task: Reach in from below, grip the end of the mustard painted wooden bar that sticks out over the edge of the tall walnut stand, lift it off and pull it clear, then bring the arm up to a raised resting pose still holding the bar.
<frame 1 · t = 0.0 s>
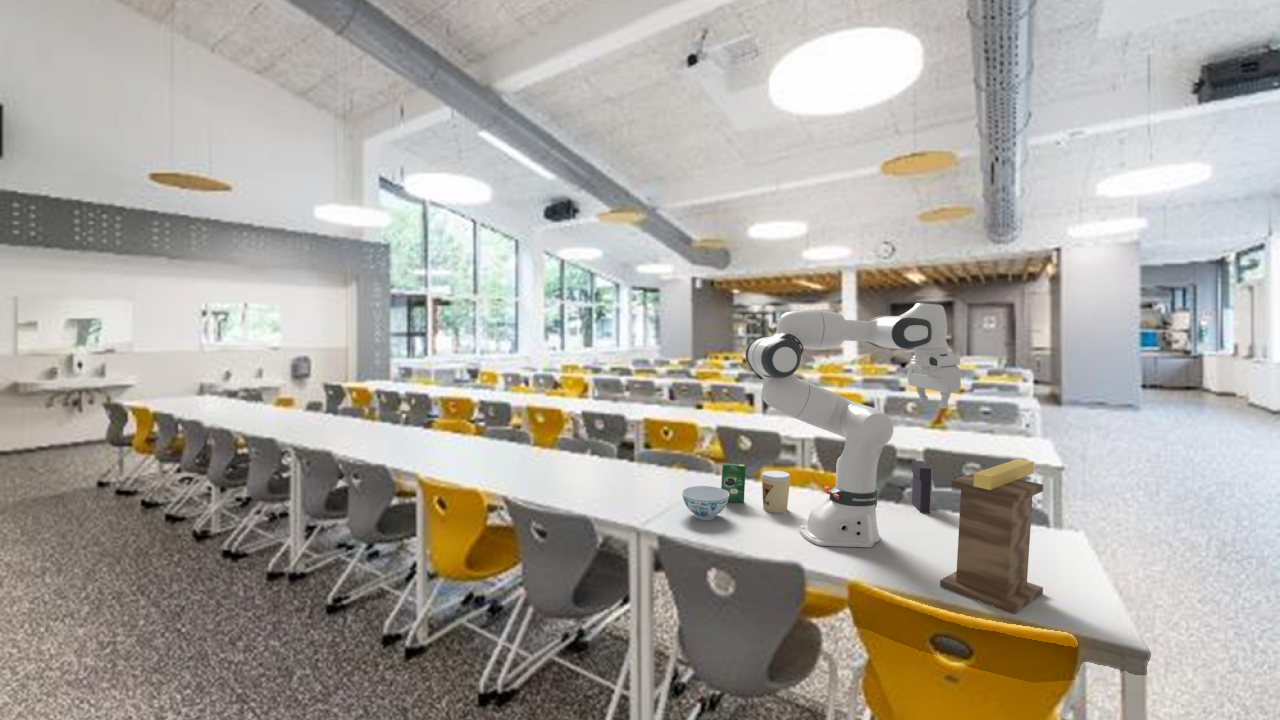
hand: (933, 404, 172), 39 cm above the table, tool pointing down, fingers open, 8 cm apart
walnut stand: (990, 590, 138), on the table
dark grey upright block: (920, 508, 198), on the table
chinaware: (705, 516, 187), on the table
coffee box: (732, 501, 203), on the table
coffee cup: (775, 509, 195), on the table
mustard bar: (1004, 479, 139), point 26 cm above the table, touching walnut stand
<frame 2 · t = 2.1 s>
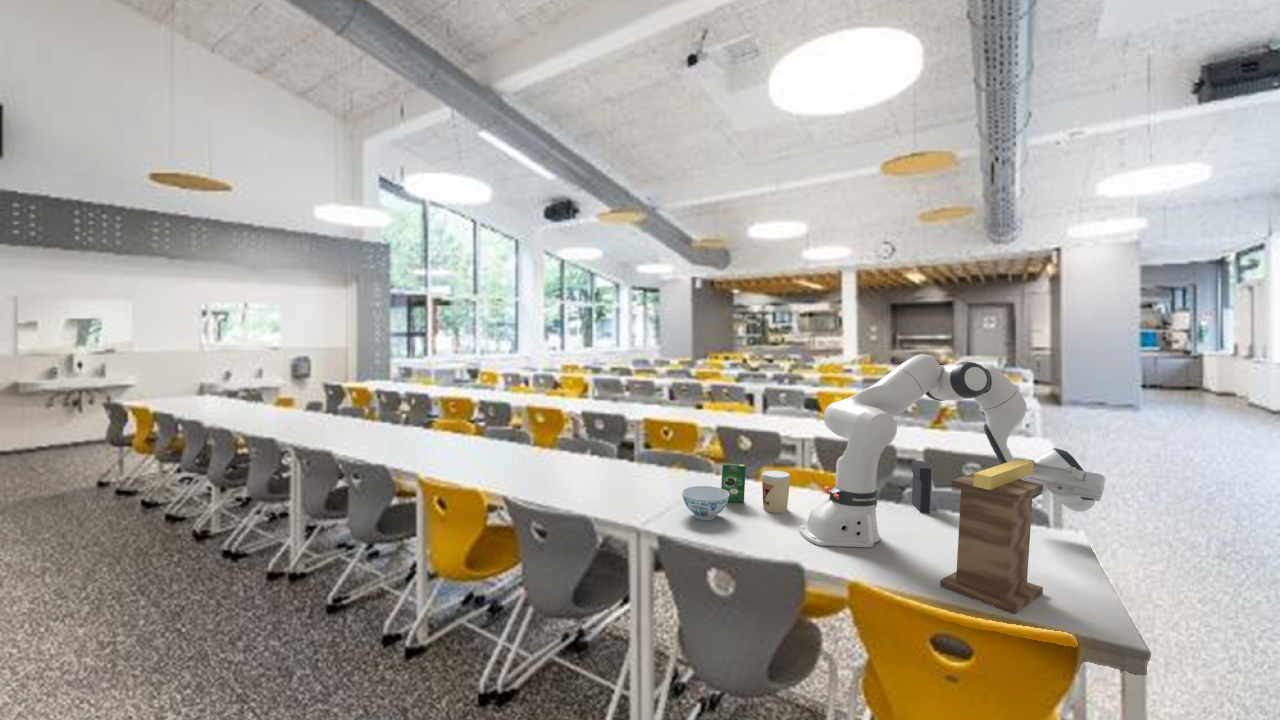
hand: (1049, 465, 156), 25 cm above the table, tool pointing upward, fingers open, 8 cm apart
nothing on the table moved.
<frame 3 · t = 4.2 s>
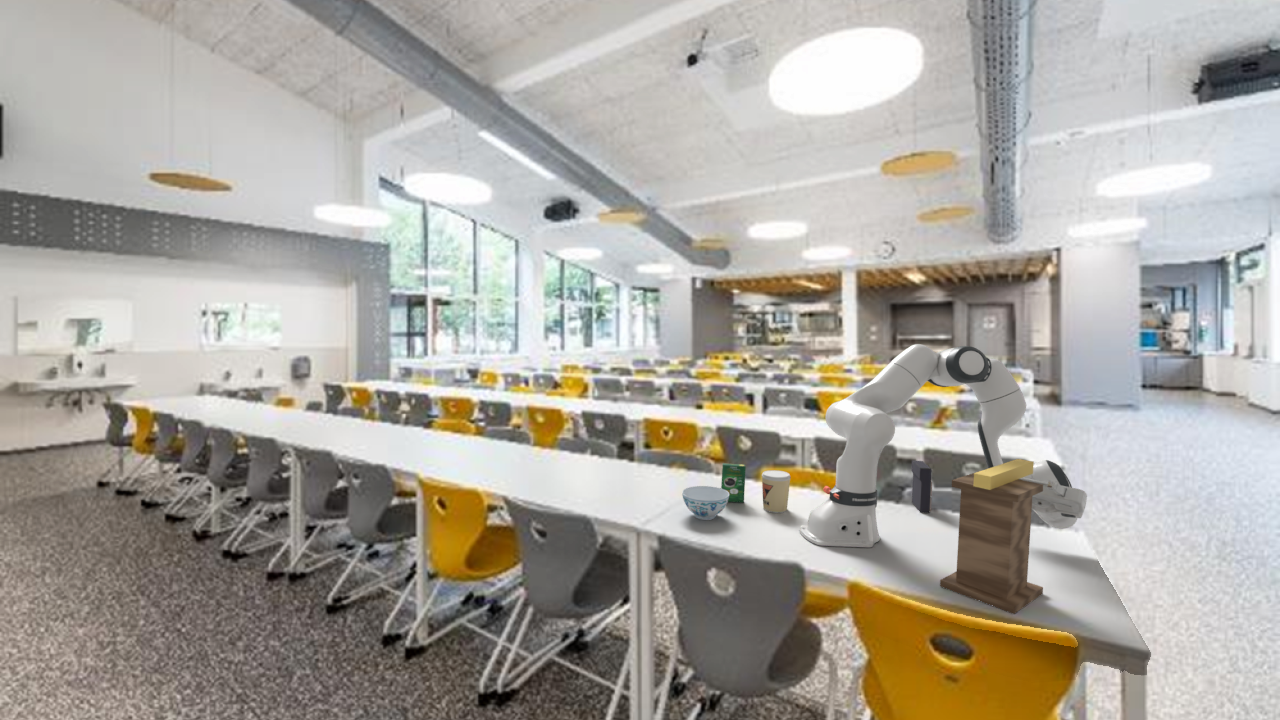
hand: (1029, 479, 148), 23 cm above the table, tool pointing upward, fingers open, 8 cm apart
nothing on the table moved.
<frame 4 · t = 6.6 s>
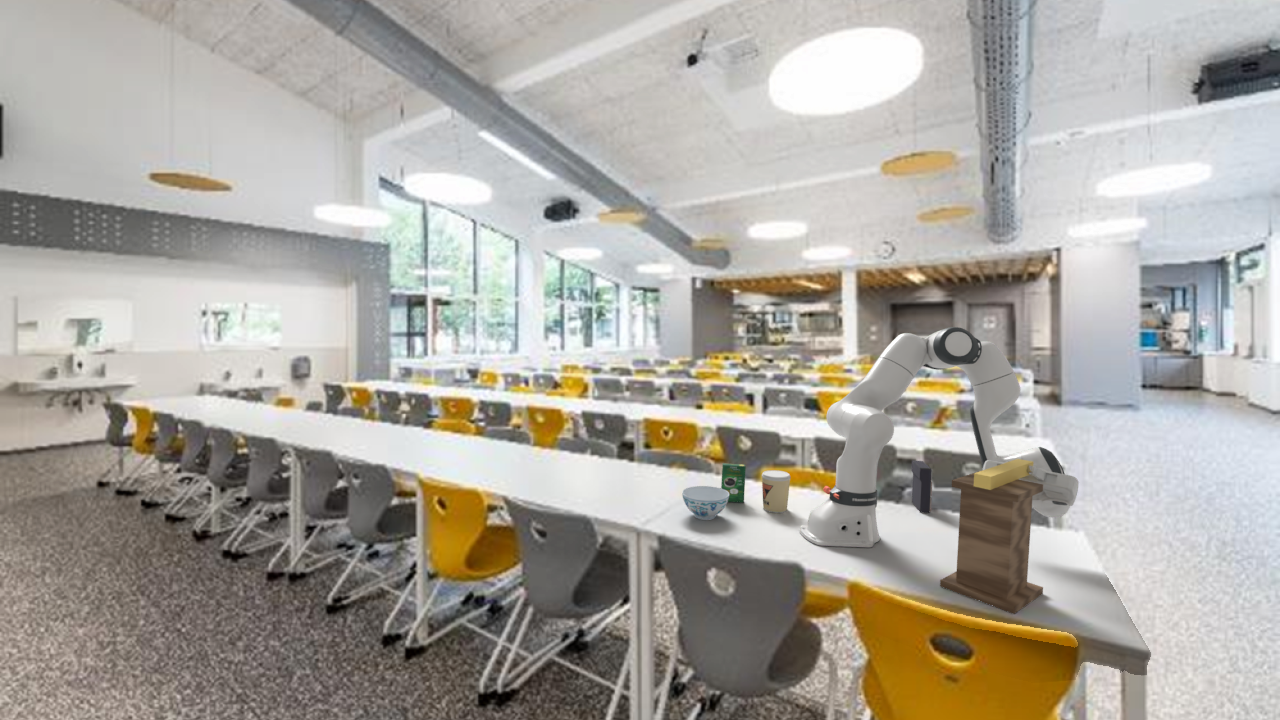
hand: (1019, 466, 143), 28 cm above the table, tool pointing upward, fingers closed on mustard bar, 3 cm apart
mustard bar: (1004, 479, 139), point 26 cm above the table, touching gripper, walnut stand
everything else where it was.
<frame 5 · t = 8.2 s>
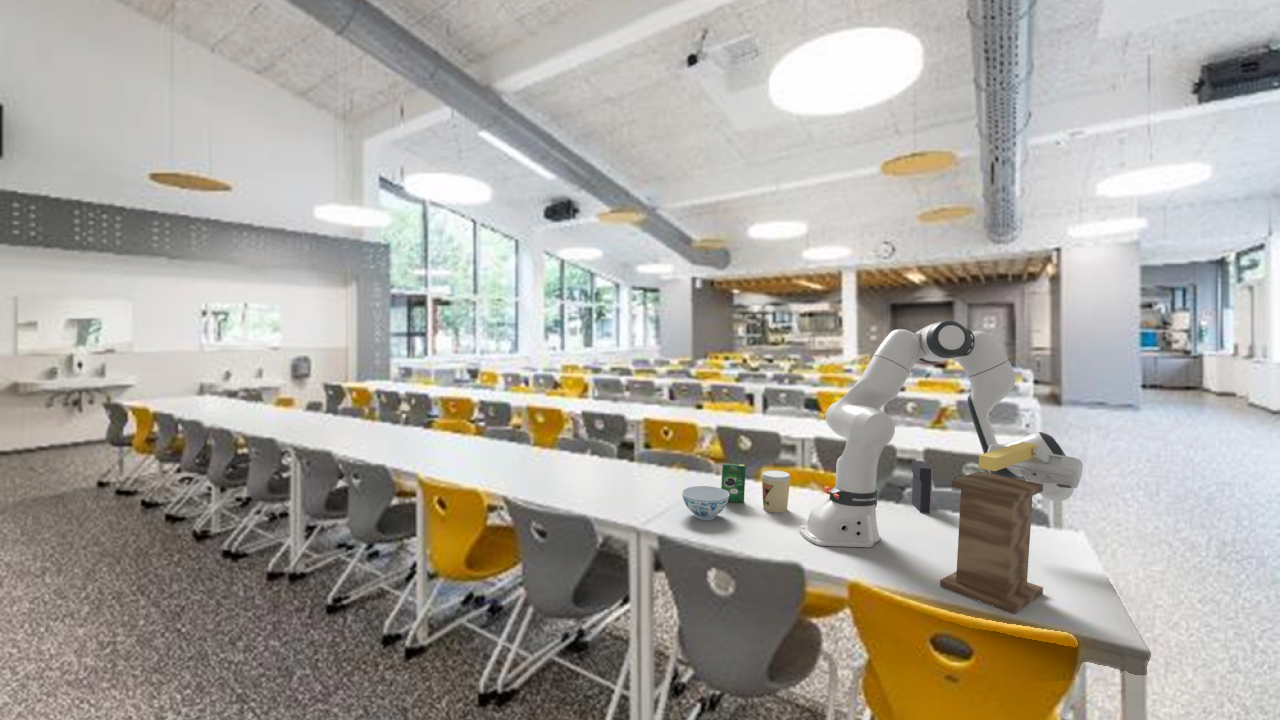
hand: (1023, 449, 144), 32 cm above the table, tool pointing upward, fingers closed on mustard bar, 3 cm apart
mustard bar: (1008, 461, 139), point 30 cm above the table, touching gripper
everything else where it was.
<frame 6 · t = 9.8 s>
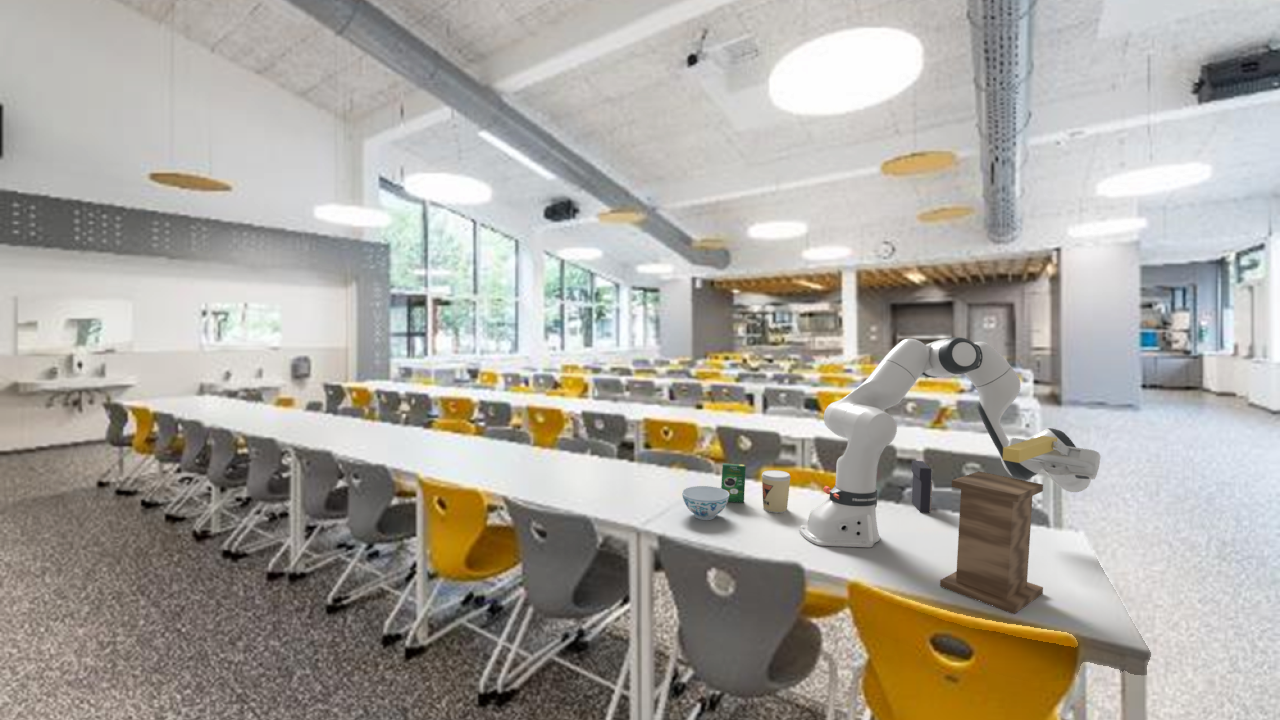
hand: (1043, 442, 152), 32 cm above the table, tool pointing upward, fingers closed on mustard bar, 3 cm apart
mustard bar: (1030, 454, 147), point 30 cm above the table, touching gripper
everything else where it was.
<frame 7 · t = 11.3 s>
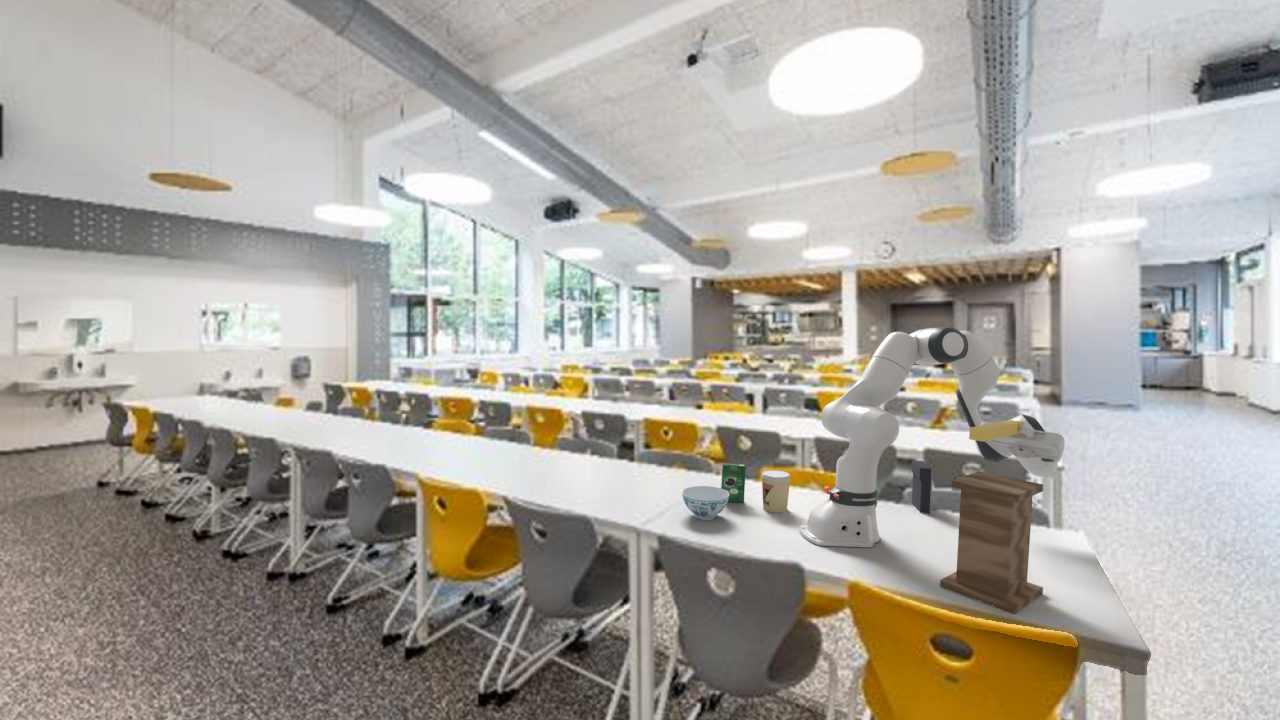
hand: (1011, 425, 159), 35 cm above the table, tool pointing upward, fingers closed on mustard bar, 3 cm apart
mustard bar: (997, 435, 155), point 33 cm above the table, touching gripper
everything else where it was.
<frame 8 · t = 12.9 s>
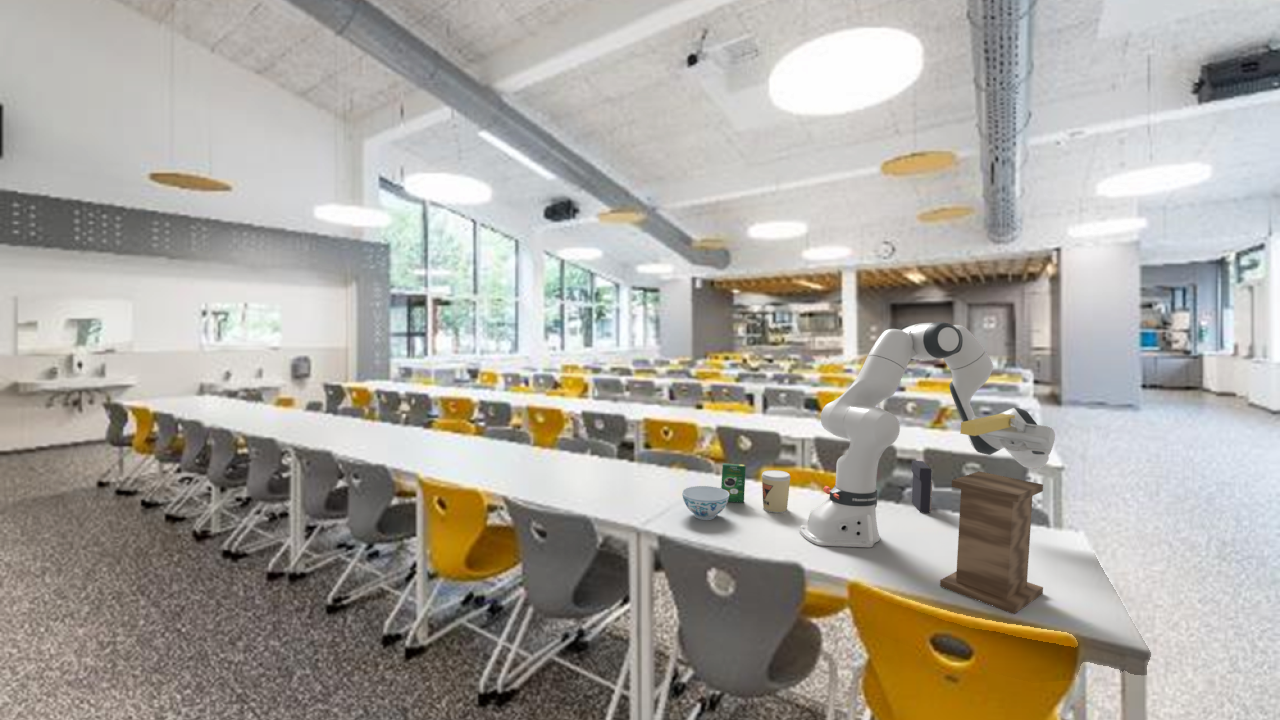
hand: (1002, 419, 161), 36 cm above the table, tool pointing upward, fingers closed on mustard bar, 3 cm apart
mustard bar: (988, 429, 156), point 34 cm above the table, touching gripper
everything else where it was.
at the end: the gripper is holding mustard bar; mustard bar point 34.4 cm above the table; mustard bar moved 21.2 cm from its start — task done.
